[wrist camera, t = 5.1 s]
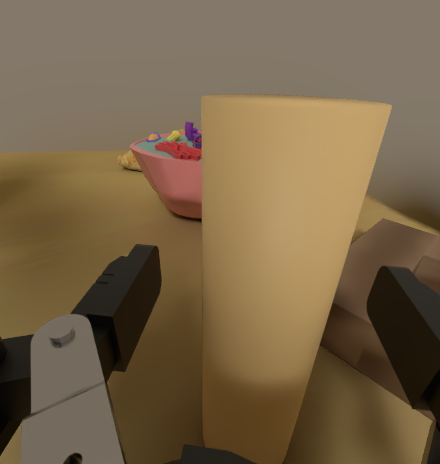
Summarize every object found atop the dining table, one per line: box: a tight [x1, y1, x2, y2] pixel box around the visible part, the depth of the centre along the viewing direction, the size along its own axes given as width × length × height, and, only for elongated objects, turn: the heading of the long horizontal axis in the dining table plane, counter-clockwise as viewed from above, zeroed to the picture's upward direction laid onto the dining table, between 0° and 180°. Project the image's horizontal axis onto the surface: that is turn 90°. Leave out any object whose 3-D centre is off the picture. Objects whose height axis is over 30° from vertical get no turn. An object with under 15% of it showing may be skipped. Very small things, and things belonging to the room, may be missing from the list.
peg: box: [202, 94, 392, 464], centre depth 10 cm, size 4×4×14 cm
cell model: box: [130, 122, 202, 219], centre depth 31 cm, size 17×20×11 cm
